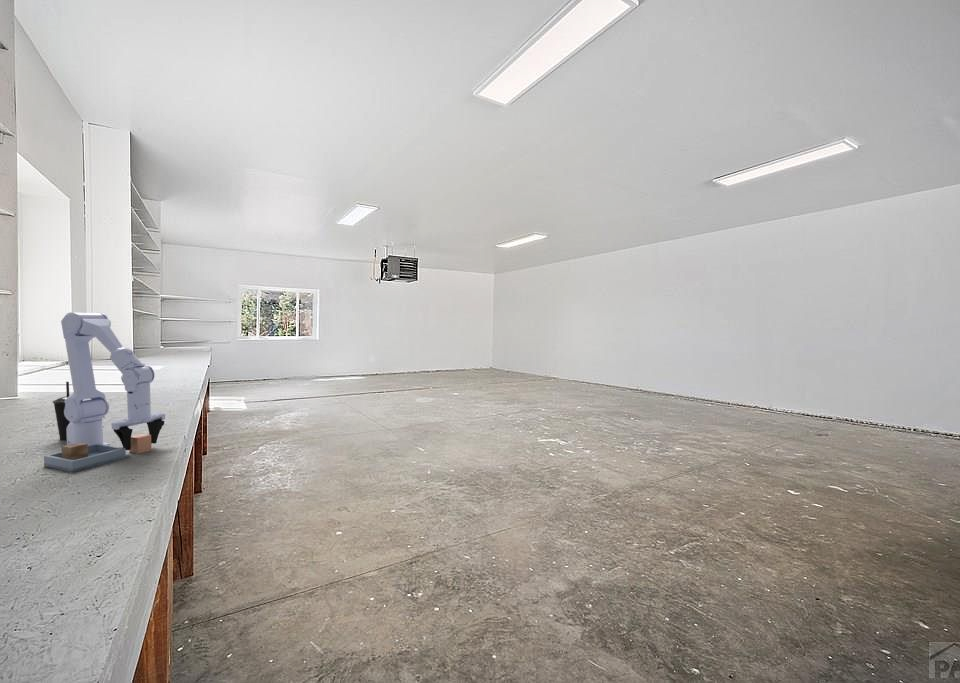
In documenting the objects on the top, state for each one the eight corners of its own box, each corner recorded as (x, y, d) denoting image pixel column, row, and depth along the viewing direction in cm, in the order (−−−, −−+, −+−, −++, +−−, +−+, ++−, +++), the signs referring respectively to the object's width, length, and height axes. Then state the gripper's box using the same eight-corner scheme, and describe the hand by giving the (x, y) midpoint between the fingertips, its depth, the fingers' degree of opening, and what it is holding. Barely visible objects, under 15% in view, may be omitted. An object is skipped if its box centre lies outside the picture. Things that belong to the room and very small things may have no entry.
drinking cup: (65, 442, 143) (63, 383, 142) (48, 440, 145) (45, 382, 144) (90, 436, 151) (88, 380, 150) (73, 434, 152) (71, 379, 151)
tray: (44, 466, 120) (43, 455, 120) (98, 452, 132) (97, 443, 132) (72, 472, 116) (72, 461, 116) (125, 457, 128) (125, 448, 128)
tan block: (79, 458, 124) (78, 442, 124) (88, 460, 123) (87, 443, 123) (62, 463, 120) (61, 446, 120) (71, 465, 119) (70, 447, 119)
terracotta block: (129, 452, 134) (129, 436, 133) (143, 448, 137) (142, 433, 137) (137, 453, 132) (137, 438, 132) (151, 450, 136) (151, 434, 136)
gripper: (121, 409, 126) (123, 454, 127) (171, 401, 140) (172, 441, 140) (106, 408, 128) (107, 451, 129) (156, 399, 142) (157, 439, 143)
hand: (140, 446), depth 135 cm, fingers open, 7 cm apart
